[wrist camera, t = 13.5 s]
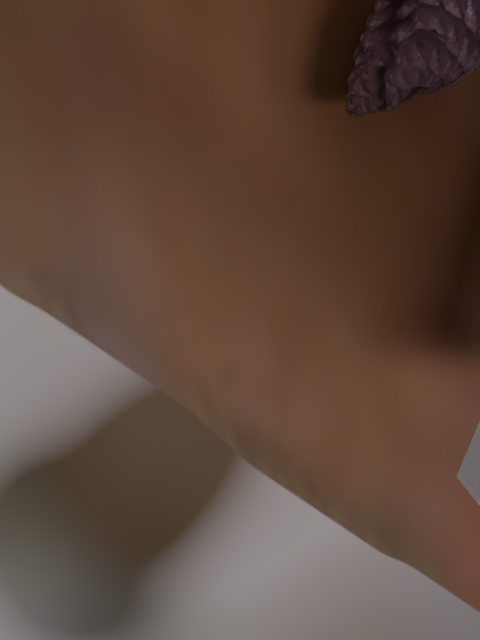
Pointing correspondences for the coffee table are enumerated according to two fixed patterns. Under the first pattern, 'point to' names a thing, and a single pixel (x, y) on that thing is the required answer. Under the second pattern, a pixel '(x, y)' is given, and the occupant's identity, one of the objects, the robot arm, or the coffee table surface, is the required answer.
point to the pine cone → (412, 52)
